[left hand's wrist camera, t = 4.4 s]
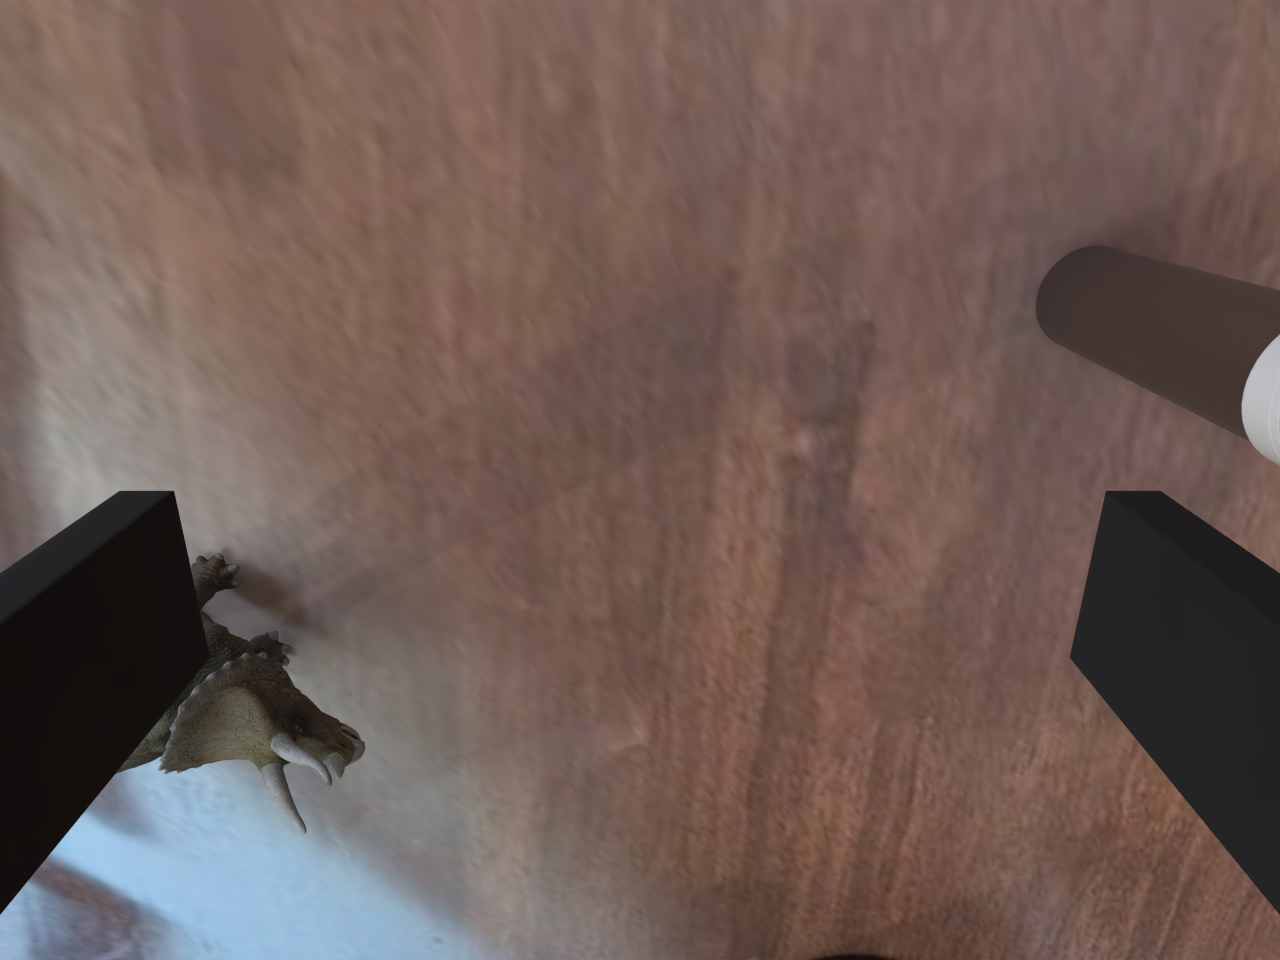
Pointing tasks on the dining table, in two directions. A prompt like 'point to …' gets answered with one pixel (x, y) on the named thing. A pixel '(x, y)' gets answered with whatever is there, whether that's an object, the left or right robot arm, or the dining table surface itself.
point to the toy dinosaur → (246, 709)
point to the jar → (1162, 326)
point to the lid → (1264, 403)
